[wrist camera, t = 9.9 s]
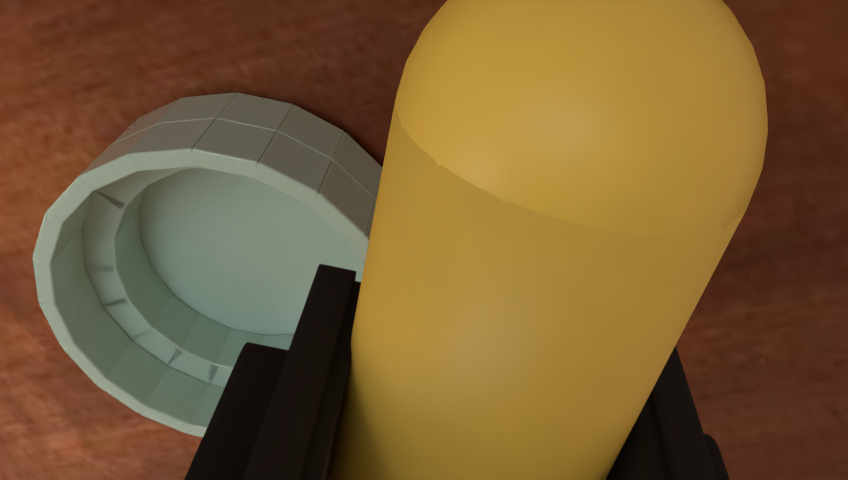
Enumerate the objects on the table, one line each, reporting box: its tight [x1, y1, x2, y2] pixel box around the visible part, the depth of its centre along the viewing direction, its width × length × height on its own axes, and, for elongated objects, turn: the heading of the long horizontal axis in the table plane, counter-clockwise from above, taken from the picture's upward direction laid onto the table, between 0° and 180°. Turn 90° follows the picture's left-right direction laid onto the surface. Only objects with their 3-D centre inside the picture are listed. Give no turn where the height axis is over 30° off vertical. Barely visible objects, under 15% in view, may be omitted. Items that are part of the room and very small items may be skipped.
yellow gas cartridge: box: [328, 0, 768, 480], centre depth 10 cm, size 14×4×4 cm, turn 169°
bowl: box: [33, 93, 382, 437], centre depth 26 cm, size 12×12×5 cm
